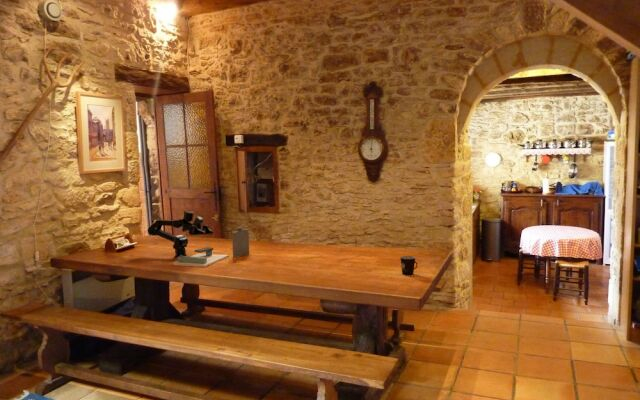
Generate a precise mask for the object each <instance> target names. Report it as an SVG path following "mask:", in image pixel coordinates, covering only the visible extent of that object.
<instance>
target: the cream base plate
mask: <svg viewBox="0 0 640 400" xmlns="http://www.w3.org/2000/svg"><path fill="white" fill-rule="evenodd" d="M189 257H204V258H207V262H206V263H194V262H178V260H177V261H175V262H173V263H172V266H183V267H197V268H199V267H200V268H207V267H209V266H211V265H214V264H216V263H218V262H220V261H222V260H225V259H227V258H229V254H213V253H212V255H210V256H208V255H206V253H199V252H197V253H195V254H193V255H191V256H189ZM213 263H214V264H213ZM208 265H209V266H208ZM206 266H207V267H206Z"/></svg>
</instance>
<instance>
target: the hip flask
mask: <svg viewBox="0 0 640 400" xmlns="http://www.w3.org/2000/svg"><path fill="white" fill-rule="evenodd" d="M231 234H232V235H231V236H232V237H231V238H232V241H231V242H232V258H239V257H242V256H246V255H250V240H249V238H250V237H249V235H250V234H249V228H243V227H242V226H237V227H236V230H235V231H232V232H231Z"/></svg>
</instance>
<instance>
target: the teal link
mask: <svg viewBox="0 0 640 400" xmlns="http://www.w3.org/2000/svg"><path fill="white" fill-rule="evenodd" d="M177 261H178V262H194V263H206V262H207V258H204V257H190V256H188V255H187V256H183V255H180V256H179V257H177Z"/></svg>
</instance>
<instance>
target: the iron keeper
mask: <svg viewBox="0 0 640 400" xmlns="http://www.w3.org/2000/svg"><path fill="white" fill-rule="evenodd" d="M213 250H214V248H213V247H209V246H206V247H203V248H202V247H201V248H198V249H197V248H196V249H194V252H195V253H201V254H203V253H205V254H206V255H208V256H210V255H212V254H213Z"/></svg>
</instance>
